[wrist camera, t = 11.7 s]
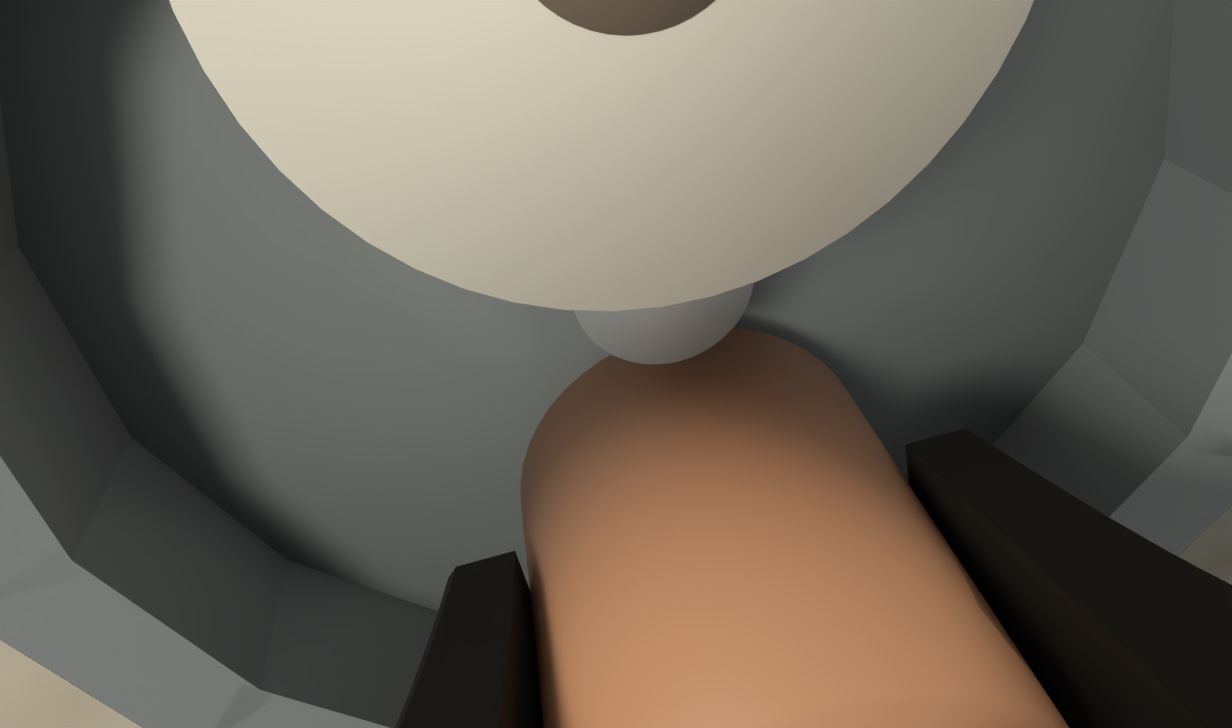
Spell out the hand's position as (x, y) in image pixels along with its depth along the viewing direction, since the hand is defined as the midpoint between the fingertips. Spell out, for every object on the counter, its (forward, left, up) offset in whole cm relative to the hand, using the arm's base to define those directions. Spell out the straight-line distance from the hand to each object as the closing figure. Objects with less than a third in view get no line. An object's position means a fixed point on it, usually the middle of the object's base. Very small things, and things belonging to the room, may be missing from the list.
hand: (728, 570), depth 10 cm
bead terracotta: (0, 0, -2) cm, 2 cm away
